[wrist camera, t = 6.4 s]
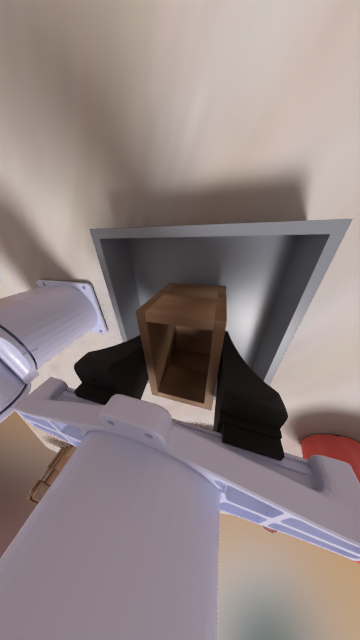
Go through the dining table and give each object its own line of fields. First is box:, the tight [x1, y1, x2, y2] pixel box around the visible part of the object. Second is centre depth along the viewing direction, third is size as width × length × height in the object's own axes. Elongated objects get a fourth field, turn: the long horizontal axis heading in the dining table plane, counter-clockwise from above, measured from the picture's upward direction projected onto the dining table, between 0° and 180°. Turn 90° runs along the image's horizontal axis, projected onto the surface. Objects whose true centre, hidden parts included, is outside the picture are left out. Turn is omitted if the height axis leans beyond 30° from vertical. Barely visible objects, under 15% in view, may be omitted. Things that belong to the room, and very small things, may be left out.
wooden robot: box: [27, 445, 77, 505], centre depth 85 cm, size 40×9×23 cm, turn 139°
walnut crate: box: [135, 282, 227, 410], centre depth 12 cm, size 5×8×6 cm, turn 2°
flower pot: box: [301, 434, 360, 563], centre depth 18 cm, size 11×11×10 cm
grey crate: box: [90, 219, 352, 400], centre depth 15 cm, size 15×17×4 cm
